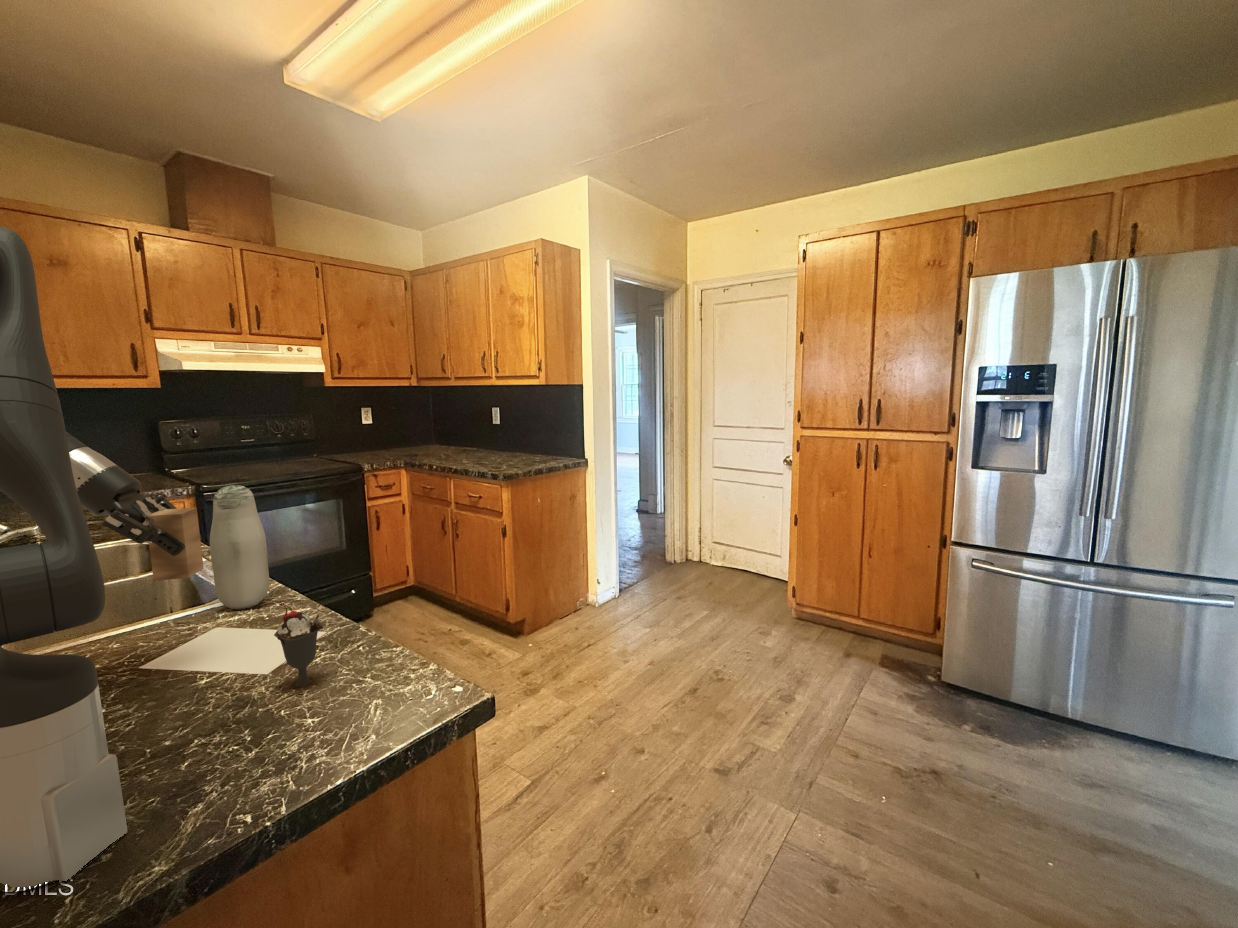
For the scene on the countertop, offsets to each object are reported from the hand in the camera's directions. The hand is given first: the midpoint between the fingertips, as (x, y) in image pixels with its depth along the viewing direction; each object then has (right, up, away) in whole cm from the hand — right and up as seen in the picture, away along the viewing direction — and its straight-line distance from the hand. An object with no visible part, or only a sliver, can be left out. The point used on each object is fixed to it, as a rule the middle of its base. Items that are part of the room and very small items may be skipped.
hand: (189, 546), depth 90 cm
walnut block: (-2, -5, 0) cm, 5 cm away
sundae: (+22, -23, -4) cm, 32 cm away
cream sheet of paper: (+3, -21, +8) cm, 23 cm away
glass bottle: (-11, -19, +29) cm, 36 cm away
